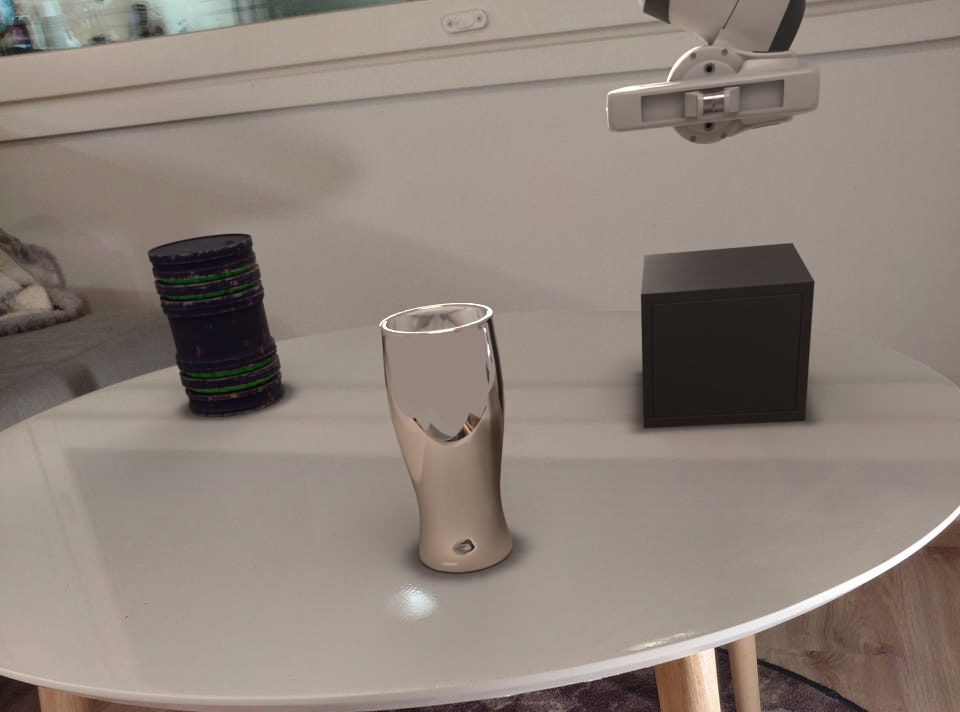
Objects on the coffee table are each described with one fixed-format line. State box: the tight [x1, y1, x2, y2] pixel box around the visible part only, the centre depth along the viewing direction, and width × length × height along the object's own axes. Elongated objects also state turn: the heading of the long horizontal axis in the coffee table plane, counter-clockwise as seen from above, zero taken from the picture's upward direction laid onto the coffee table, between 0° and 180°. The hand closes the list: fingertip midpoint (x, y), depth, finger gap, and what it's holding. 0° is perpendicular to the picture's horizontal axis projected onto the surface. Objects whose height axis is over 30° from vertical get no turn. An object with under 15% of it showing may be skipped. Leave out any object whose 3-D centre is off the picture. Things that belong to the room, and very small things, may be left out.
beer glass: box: [379, 302, 513, 574], centre depth 60 cm, size 7×7×15 cm
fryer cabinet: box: [640, 242, 816, 429], centre depth 81 cm, size 15×13×11 cm
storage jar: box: [147, 232, 286, 418], centre depth 95 cm, size 10×10×15 cm
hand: (713, 105), depth 90 cm, fingers closed
